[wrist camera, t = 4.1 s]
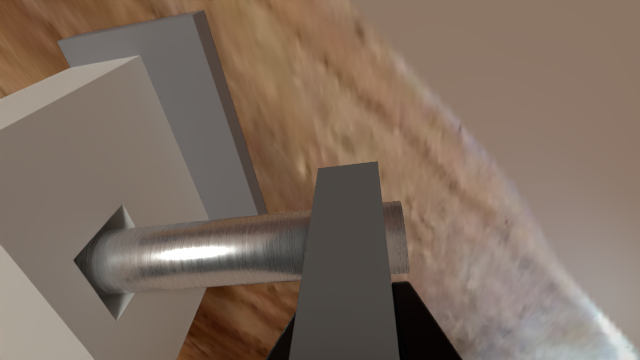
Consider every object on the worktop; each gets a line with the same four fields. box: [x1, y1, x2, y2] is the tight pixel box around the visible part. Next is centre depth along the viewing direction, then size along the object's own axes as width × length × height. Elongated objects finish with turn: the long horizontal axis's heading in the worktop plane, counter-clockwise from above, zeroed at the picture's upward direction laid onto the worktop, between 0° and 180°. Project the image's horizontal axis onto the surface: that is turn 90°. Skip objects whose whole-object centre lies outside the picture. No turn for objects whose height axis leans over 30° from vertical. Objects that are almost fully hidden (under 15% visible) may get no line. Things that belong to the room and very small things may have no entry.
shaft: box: [73, 161, 409, 360], centre depth 10 cm, size 19×5×7 cm, turn 100°
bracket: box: [0, 10, 267, 360], centre depth 14 cm, size 6×12×10 cm, turn 10°
